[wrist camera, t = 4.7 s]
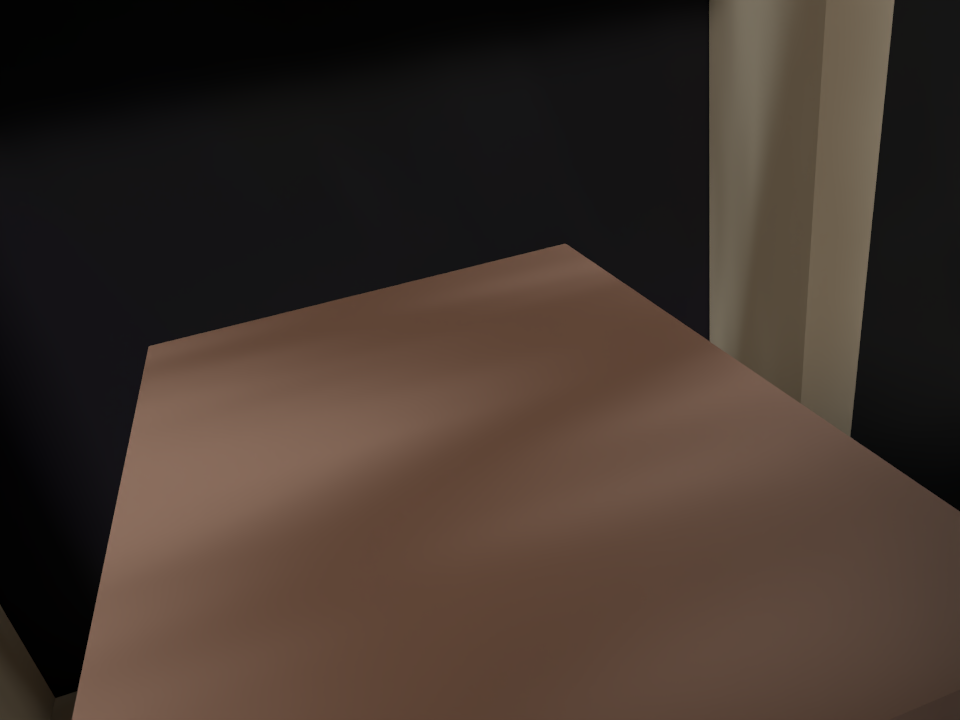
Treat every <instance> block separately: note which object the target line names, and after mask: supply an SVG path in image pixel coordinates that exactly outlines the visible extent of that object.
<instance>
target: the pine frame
mask: <svg viewBox="0 0 960 720" xmlns="http://www.w3.org/2000/svg"><path fill="white" fill-rule="evenodd" d="M893 9H894V0H709V155H710V342H711V343H712V344H714V345H715V346H717V347H718V348H720V349H721V350H723V351H724V352H726V353H727V354H729V355H730V356H732V357H733V358H734V359H736V360H737V361H739V362H740V363H742V364H743V365H745V366H746V367H748V368H749V369H751V370H752V371H754V372H755V373H757V374H758V375H760V376H761V377H762V378H764V379H765V380H767V381H768V382H770V383H771V384H773V385H774V386H776V387H777V388H779V389H780V390H782V391H783V392H785V393H786V394H787V395H789V396H790V397H792V398H793V399H795V400H796V401H798V402H799V403H801V404H802V405H804V406H805V407H807V408H808V409H810V410H811V411H812V412H814V413H815V414H817V415H818V416H820V417H821V418H823V419H824V420H826V421H827V422H829V423H830V424H832V425H833V426H835V427H836V428H837V429H839V430H840V431H842V432H843V433H845V434H846V435H848V436H849V437H850V434H851V424H852V414H853V404H854V394H855V384H856V374H857V365H858V355H859V345H860V335H861V325H862V315H863V305H864V295H865V286H866V276H867V266H868V256H869V246H870V236H871V226H872V216H873V207H874V197H875V187H876V177H877V167H878V157H879V147H880V137H881V128H882V118H883V108H884V98H885V88H886V78H887V68H888V58H889V49H890V39H891V29H892V19H893ZM76 696H77V691H76V692H73V693H70V694H67V695H64V696H61V697H58V698H55V697H54V695H53V693H52V692H51V690H50V688H49V686H48V685H47V683H46V681H45V680H44V678H43V676H42V675H41V673H40V671H39V670H38V668H37V666H36V665H35V663H34V661H33V659H32V658H31V656H30V654H29V653H28V651H27V649H26V648H25V646H24V644H23V643H22V641H21V639H20V638H19V636H18V634H17V632H16V631H15V629H14V627H13V626H12V624H11V622H10V621H9V619H8V617H7V616H6V614H5V612H4V611H3V609H2V607H1V605H0V720H72V715H73V711H74V706H75V701H76Z"/></svg>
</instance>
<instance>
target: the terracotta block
mask: <svg viewBox="0 0 960 720" xmlns="http://www.w3.org/2000/svg"><path fill="white" fill-rule="evenodd" d="M72 720H960V511H958V510H957V509H955V508H954V507H952V506H951V505H949V504H948V503H946V502H945V501H943V500H942V499H940V498H939V497H938V496H936V495H935V494H933V493H932V492H930V491H929V490H927V489H926V488H924V487H923V486H921V485H920V484H918V483H917V482H915V481H914V480H913V479H911V478H910V477H908V476H907V475H905V474H904V473H902V472H901V471H899V470H898V469H896V468H895V467H893V466H892V465H890V464H889V463H888V462H886V461H885V460H883V459H882V458H880V457H879V456H877V455H876V454H874V453H873V452H871V451H870V450H868V449H867V448H865V447H864V446H862V445H861V444H860V443H858V442H857V441H855V440H854V439H852V438H851V437H849V436H848V435H846V434H845V433H843V432H842V431H840V430H839V429H837V428H836V427H835V426H833V425H832V424H830V423H829V422H827V421H826V420H824V419H823V418H821V417H820V416H818V415H817V414H815V413H814V412H812V411H811V410H810V409H808V408H807V407H805V406H804V405H802V404H801V403H799V402H798V401H796V400H795V399H793V398H792V397H790V396H789V395H787V394H786V393H785V392H783V391H782V390H780V389H779V388H777V387H776V386H774V385H773V384H771V383H770V382H768V381H767V380H765V379H764V378H762V377H761V376H760V375H758V374H757V373H755V372H754V371H752V370H751V369H749V368H748V367H746V366H745V365H743V364H742V363H740V362H739V361H737V360H736V359H734V358H733V357H732V356H730V355H729V354H727V353H726V352H724V351H723V350H721V349H720V348H718V347H717V346H715V345H714V344H712V343H711V342H709V341H708V340H707V339H705V338H704V337H702V336H701V335H699V334H698V333H696V332H695V331H693V330H692V329H690V328H689V327H687V326H686V325H684V324H683V323H682V322H680V321H679V320H677V319H676V318H674V317H673V316H671V315H670V314H668V313H667V312H665V311H664V310H662V309H661V308H659V307H658V306H657V305H655V304H654V303H652V302H651V301H649V300H648V299H646V298H645V297H643V296H642V295H640V294H639V293H637V292H636V291H634V290H633V289H632V288H630V287H629V286H627V285H626V284H624V283H623V282H621V281H620V280H618V279H617V278H615V277H614V276H612V275H611V274H609V273H608V272H606V271H605V270H604V269H602V268H601V267H599V266H598V265H596V264H595V263H593V262H592V261H590V260H589V259H587V258H586V257H584V256H583V255H581V254H580V253H579V252H577V251H576V250H574V249H573V248H571V247H570V246H568V245H567V244H562V245H558V246H554V247H550V248H546V249H542V250H538V251H534V252H530V253H525V254H521V255H517V256H513V257H509V258H505V259H501V260H497V261H493V262H489V263H485V264H481V265H477V266H473V267H469V268H465V269H461V270H456V271H452V272H448V273H444V274H440V275H436V276H432V277H428V278H424V279H420V280H416V281H412V282H408V283H404V284H400V285H396V286H392V287H388V288H383V289H379V290H375V291H371V292H367V293H363V294H359V295H355V296H351V297H347V298H343V299H339V300H335V301H331V302H327V303H323V304H319V305H315V306H310V307H306V308H302V309H298V310H294V311H290V312H286V313H282V314H278V315H274V316H270V317H266V318H262V319H258V320H254V321H250V322H246V323H241V324H237V325H233V326H229V327H225V328H221V329H217V330H213V331H209V332H205V333H201V334H197V335H193V336H189V337H185V338H181V339H177V340H173V341H168V342H164V343H160V344H156V345H152V346H149V348H148V353H147V358H146V363H145V367H144V372H143V377H142V382H141V387H140V392H139V396H138V401H137V406H136V411H135V416H134V421H133V425H132V430H131V435H130V440H129V445H128V450H127V454H126V459H125V464H124V469H123V474H122V479H121V483H120V488H119V493H118V498H117V503H116V508H115V512H114V517H113V522H112V527H111V532H110V537H109V541H108V546H107V551H106V556H105V561H104V566H103V570H102V575H101V580H100V585H99V590H98V595H97V599H96V604H95V609H94V614H93V619H92V624H91V628H90V633H89V638H88V643H87V648H86V653H85V657H84V662H83V667H82V672H81V677H80V682H79V686H78V691H77V696H76V701H75V706H74V711H73V715H72Z"/></svg>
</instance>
